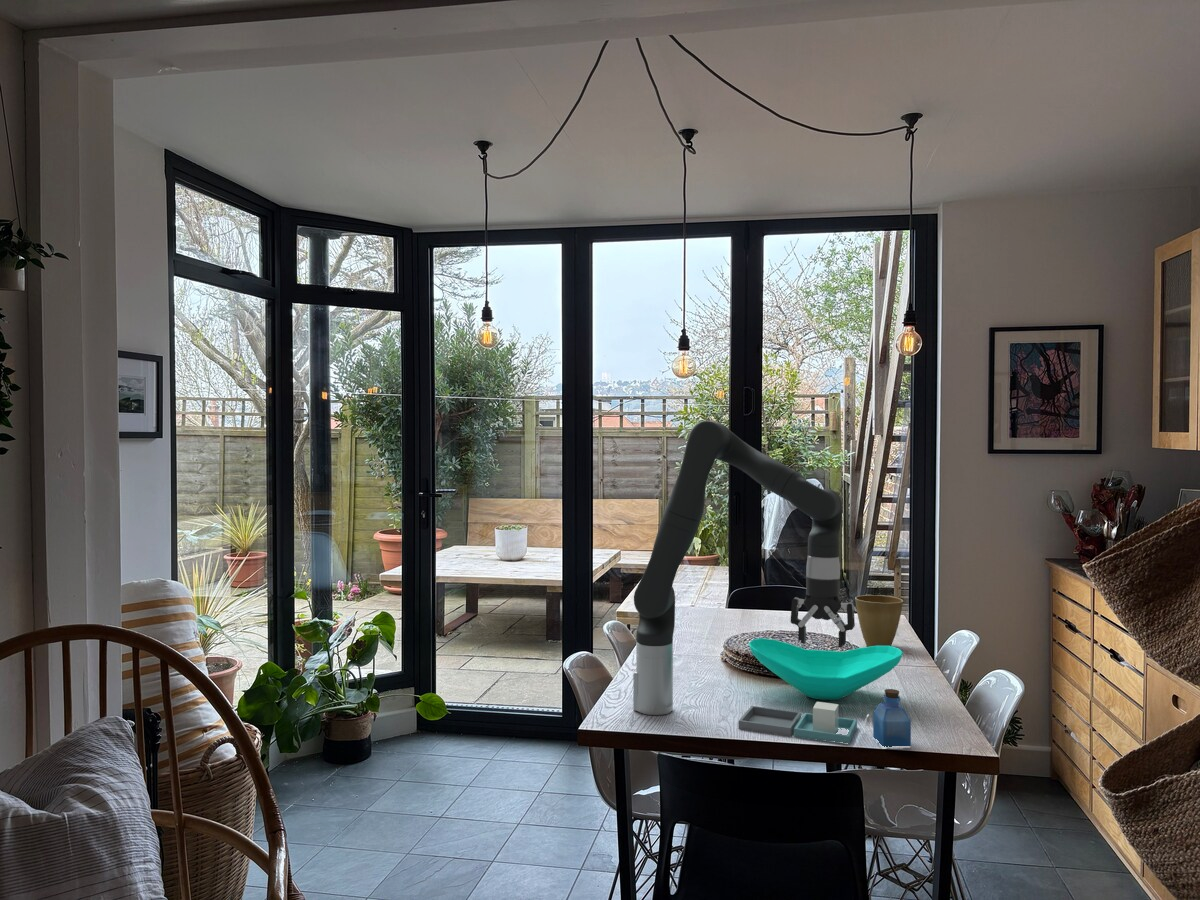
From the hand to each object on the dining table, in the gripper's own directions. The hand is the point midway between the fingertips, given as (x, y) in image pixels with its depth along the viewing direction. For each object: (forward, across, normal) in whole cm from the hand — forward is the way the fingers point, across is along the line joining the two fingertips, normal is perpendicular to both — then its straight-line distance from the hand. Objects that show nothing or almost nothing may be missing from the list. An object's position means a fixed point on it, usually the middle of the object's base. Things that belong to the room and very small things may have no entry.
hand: (821, 644), depth 198 cm
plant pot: (+21, +2, +90) cm, 92 cm away
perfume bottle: (+21, +16, 0) cm, 26 cm away
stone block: (+20, +1, 0) cm, 20 cm away
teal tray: (+21, +1, 0) cm, 21 cm away
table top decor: (+21, -4, +29) cm, 36 cm away
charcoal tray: (+21, -12, 0) cm, 24 cm away
